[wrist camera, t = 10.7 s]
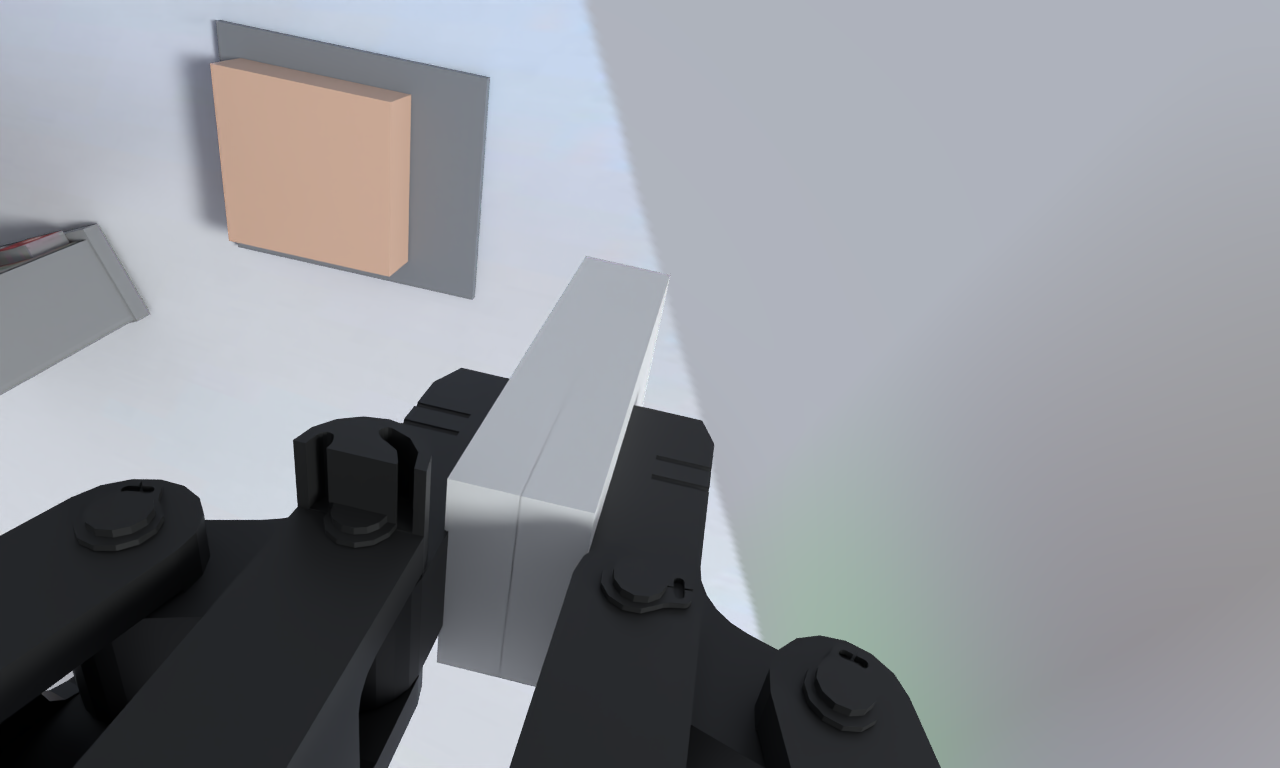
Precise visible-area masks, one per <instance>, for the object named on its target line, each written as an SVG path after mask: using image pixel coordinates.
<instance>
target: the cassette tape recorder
mask: <svg viewBox="0 0 1280 768" xmlns="http://www.w3.org/2000/svg"><path fill="white" fill-rule="evenodd" d="M149 314H150V312H149V310H148V309H147V307H146V305H145V303H144V302H143V300H142V298H141V297H140V295H139V293H138V291H137V290H136V288H135V286H134V285H133V283H132V281H131V279H130V278H129V276H128V274H127V273H126V271H125V269H124V267H123V266H122V264H121V262H120V261H119V259H118V257H117V255H116V254H115V252H114V250H113V249H112V247H111V245H110V243H109V242H108V240H107V238H106V237H105V235H104V233H103V231H102V230H101V228H100V226H99V225H98V224H94V225H90V226H86V227H82V228H78V229H74V230H70V231H66V232H63V231H58V232H54V233H50V234H46V235H42V236H38V237H34V238H30V239H27V240H24V241H20V242H16V243H12V244H8V245H4V246H1V247H0V395H2V394H3V393H5V392H7V391H9V390H11V389H12V388H14V387H16V386H18V385H19V384H21V383H23V382H25V381H27V380H28V379H30V378H32V377H34V376H35V375H37V374H39V373H41V372H43V371H44V370H46V369H48V368H50V367H51V366H53V365H55V364H57V363H59V362H60V361H62V360H64V359H66V358H67V357H69V356H71V355H73V354H75V353H76V352H78V351H80V350H82V349H83V348H85V347H87V346H89V345H91V344H92V343H94V342H96V341H98V340H100V339H101V338H103V337H105V336H107V335H108V334H110V333H112V332H114V331H116V330H117V329H119V328H121V327H123V326H124V325H126V324H128V323H131V322H136V321H139V320H140V319H142V318H144V317H146V316H147V315H149Z"/></svg>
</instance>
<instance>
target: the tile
mask: <svg viewBox="0 0 1280 768" xmlns="http://www.w3.org/2000/svg"><path fill="white" fill-rule="evenodd" d="M210 67H211V77H212V86H213V95H214V105H215V114H216V124H217V133H218V142H219V152H220V161H221V171H222V180H223V189H224V199H225V208H226V218H227V227H228V236H229V241H233V242H237V243H242V244H246V245H251V246H255V247H259V248H264V249H268V250H273V251H277V252H282V253H286V254H290V255H295V256H299V257H304V258H308V259H313V260H317V261H322V262H326V263H330V264H335V265H339V266H344V267H348V268H353V269H357V270H362V271H366V272H370V273H375V274H379V275H384V276H388V277H390V276H391V275H392V274H393V273H395V272H396V271H397V270H398V269H399V268H401V267H402V266H403V265H404V264H406V263H407V262H408V234H409V183H410V132H411V94H406V93H401V92H397V91H392V90H387V89H383V88H378V87H373V86H369V85H364V84H359V83H355V82H350V81H345V80H341V79H336V78H331V77H327V76H322V75H317V74H313V73H308V72H303V71H299V70H294V69H289V68H285V67H280V66H275V65H271V64H266V63H261V62H257V61H252V60H247V59H243V58H237V59H232V60H226V61H221V62H215V63H210Z"/></svg>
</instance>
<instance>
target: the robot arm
mask: <svg viewBox="0 0 1280 768" xmlns="http://www.w3.org/2000/svg"><path fill="white" fill-rule="evenodd" d="M669 278H670V275H669V274H664V273H660V272H655V271H651V270H646V269H642V268H637V267H633V266H628V265H624V264H619V263H615V262H610V261H606V260H601V259H597V258H592V257H588V256H586V257H585V259H584V260H583V262H582V264H581V265H580V267H579V268H578V270H577V272H576V273H575V275H574V276H573V278H572V280H571V281H570V283H569V284H568V286H567V288H566V289H565V291H564V292H563V294H562V296H561V297H560V299H559V300H558V302H557V304H556V305H555V307H554V309H553V310H552V312H551V313H550V315H549V317H548V318H547V320H546V321H545V323H544V325H543V326H542V328H541V329H540V331H539V333H538V334H537V336H536V337H535V339H534V341H533V342H532V344H531V345H530V347H529V349H528V350H527V352H526V353H525V355H524V357H523V358H522V360H521V361H520V363H519V365H518V366H517V368H516V369H515V371H514V373H513V374H512V376H511V377H510V379H508V378H503V377H499V376H495V375H490V374H486V373H482V372H477V371H473V370H469V369H464V368H460V369H458V370H456V371H454V372H452V373H450V374H448V375H447V376H445V377H443V378H441V379H439V380H437V381H435V382H433V384H432V385H431V386H430V387H429V389H428V390H427V391H426V392H425V394H424V395H423V396H422V397H421V399H420V400H419V401H418V404H417V406H414V407H413V409H412V410H411V411H410V412H409V414H408V415H407V416H406V417H405V419H404V423H401V424H400V423H398V422H395V421H392V420H390V419H381V418H372V417H353V418H343V419H336V420H332V421H329V422H326V423H323V424H320V425H317V426H314V427H312V428H310V429H309V430H307V431H306V432H304V433H303V434H301V435H300V436H298V437H297V438H296V439H294V440H293V446H294V460H295V474H296V488H297V502H298V507H297V508H296V509H295V510H294V512H293V513H292V514H291V515H290V516H289V517H288V518H282V519H269V520H205V518H204V513H203V509H202V505H201V502H200V498H199V497H198V496H196V495H195V494H194V493H193V492H191V491H190V490H189V489H187V488H186V487H185V486H182V485H179V484H175V483H171V482H168V481H164V480H148V479H131V480H126V481H121V482H116V483H110V484H105V485H100V486H98V487H96V488H93V489H91V490H88V491H86V492H83V493H81V494H78V495H76V496H73V497H71V498H69V499H67V500H66V501H64V502H62V503H60V504H58V505H56V506H54V507H53V508H51V509H49V510H47V511H45V512H43V513H42V514H40V515H38V516H36V517H34V518H32V519H30V520H29V521H27V522H25V523H23V524H21V525H19V526H17V527H16V528H14V529H12V530H10V531H8V532H6V533H5V534H3V535H1V536H0V768H388V766H389V764H390V762H391V760H392V758H393V755H394V753H395V751H396V749H397V747H398V745H399V743H400V741H401V738H402V736H403V734H404V732H405V730H406V728H407V726H408V724H409V721H410V719H411V717H412V715H413V713H414V711H415V709H416V707H417V704H418V700H419V696H420V691H421V687H422V670H423V665H424V663H425V661H426V659H427V657H428V655H429V653H430V651H431V649H432V647H433V645H434V642H435V640H436V638H437V636H438V652H437V662H438V663H442V664H446V665H450V666H454V667H458V668H462V669H466V670H470V671H474V672H478V673H482V674H486V675H490V676H495V677H499V678H503V679H507V680H511V681H515V682H519V683H523V684H527V685H531V686H535V687H536V688H535V691H534V694H533V697H532V700H531V703H530V706H529V709H528V712H527V715H526V719H525V722H524V725H523V728H522V731H521V734H520V737H519V740H518V743H517V746H516V749H515V752H514V755H513V758H512V762H511V765H510V768H941V767H940V765H939V763H938V760H937V758H936V756H935V754H934V752H933V749H932V747H931V745H930V743H929V740H928V738H927V736H926V734H925V731H924V729H923V727H922V725H921V722H920V720H919V718H918V716H917V713H916V711H915V709H914V707H913V705H912V702H911V700H910V698H909V696H908V695H907V693H906V692H905V690H904V688H903V687H902V685H901V684H900V682H899V681H898V679H897V678H896V677H895V675H894V673H892V672H891V671H890V670H889V669H888V668H887V667H886V666H885V665H883V664H882V663H881V662H880V661H879V660H878V659H877V658H875V657H874V656H873V655H872V654H870V653H868V652H867V651H865V650H863V649H861V648H859V647H856V646H855V645H853V644H851V643H849V642H847V641H844V640H839V639H834V638H829V637H825V636H812V637H805V638H796V639H795V640H793V641H792V642H790V643H789V644H787V645H786V646H784V647H782V648H781V649H779V650H777V649H775V648H773V647H771V646H769V645H768V644H766V643H764V642H762V641H760V640H758V639H756V638H754V637H752V636H751V635H749V634H747V633H746V632H744V631H742V630H741V629H739V628H738V627H736V626H735V625H733V624H732V623H730V622H729V621H728V620H727V619H726V618H725V617H724V616H723V615H722V614H721V613H720V612H719V611H718V610H717V609H716V608H715V606H714V605H713V603H712V602H711V601H710V599H709V598H708V596H707V595H706V592H705V589H704V587H703V584H702V581H701V568H700V566H701V557H702V548H703V539H704V531H705V522H706V513H707V504H708V495H709V492H708V491H709V486H710V477H711V468H712V459H713V451H714V443H713V441H712V439H711V437H710V435H709V433H708V431H707V429H706V427H705V425H704V423H703V421H701V420H697V419H693V418H688V417H684V416H680V415H675V414H671V413H667V412H662V411H658V410H654V409H649V408H645V407H643V403H644V398H645V393H646V388H647V384H648V379H649V374H650V369H651V364H652V360H653V355H654V350H655V345H656V341H657V336H658V331H659V326H660V321H661V317H662V312H663V307H664V302H665V298H666V293H667V288H668V283H669ZM438 634H439V635H438ZM71 671H73V673H74V677H72V678H71V679H69V680H68V681H67V682H64V683H63V684H61V685H59V686H57V687H55V688H53V689H51V690H49V691H45V690H47V689H48V688H49V687H51V686H52V685H54V684H55V683H56V682H57V681H59V680H60V679H62V678H63V677H64V676H66V675H67V674H68V673H70V672H71Z"/></svg>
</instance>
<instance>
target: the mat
mask: <svg viewBox="0 0 1280 768" xmlns="http://www.w3.org/2000/svg"><path fill="white" fill-rule="evenodd" d="M216 27H217V37H218V47H219V57H220V62H221V61H226V60H232V59H237V58H243V59H247V60H252V61H257V62H261V63H266V64H271V65H275V66H280V67H285V68H289V69H294V70H299V71H303V72H308V73H313V74H317V75H322V76H327V77H331V78H336V79H341V80H345V81H350V82H355V83H359V84H364V85H369V86H373V87H378V88H383V89H387V90H392V91H397V92H401V93H406V94H411V132H410V183H409V234H408V262H407V263H406V264H404V265H403V266H402V267H401V268H399V269H398V270H397V271H396V272H395V273H393V274H392V275H391V276H390V277H388V276H384V275H379V274H375V273H370V272H366V271H362V270H357V269H353V268H348V267H344V266H339V265H335V264H330V263H326V262H322V261H317V260H313V259H308V258H304V257H299V256H295V255H290V254H286V253H282V252H277V251H273V250H268V249H264V248H259V247H255V246H251V245H246V244H242V243H238V247H241V248H245V249H250V250H254V251H259V252H263V253H267V254H272V255H276V256H281V257H285V258H290V259H294V260H298V261H303V262H307V263H312V264H316V265H321V266H325V267H329V268H334V269H338V270H343V271H347V272H352V273H356V274H361V275H365V276H369V277H374V278H378V279H383V280H387V281H392V282H396V283H400V284H405V285H409V286H414V287H418V288H423V289H427V290H431V291H436V292H440V293H445V294H449V295H454V296H458V297H463V298H467V299H471V300H472V299H473V298H474V297H475V285H476V270H477V256H478V241H479V227H480V212H481V198H482V183H483V169H484V154H485V140H486V125H487V111H488V96H489V82H490V77H485V76H481V75H476V74H471V73H466V72H462V71H457V70H452V69H448V68H443V67H438V66H434V65H429V64H424V63H419V62H415V61H410V60H405V59H401V58H396V57H391V56H387V55H382V54H377V53H372V52H368V51H363V50H358V49H354V48H349V47H344V46H339V45H335V44H330V43H325V42H321V41H316V40H311V39H307V38H302V37H297V36H292V35H288V34H283V33H278V32H274V31H269V30H264V29H259V28H255V27H250V26H245V25H241V24H236V23H231V22H227V21H222V20H219V21H216Z"/></svg>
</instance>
